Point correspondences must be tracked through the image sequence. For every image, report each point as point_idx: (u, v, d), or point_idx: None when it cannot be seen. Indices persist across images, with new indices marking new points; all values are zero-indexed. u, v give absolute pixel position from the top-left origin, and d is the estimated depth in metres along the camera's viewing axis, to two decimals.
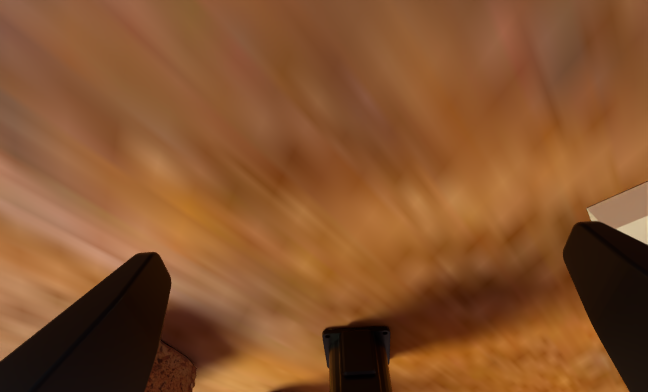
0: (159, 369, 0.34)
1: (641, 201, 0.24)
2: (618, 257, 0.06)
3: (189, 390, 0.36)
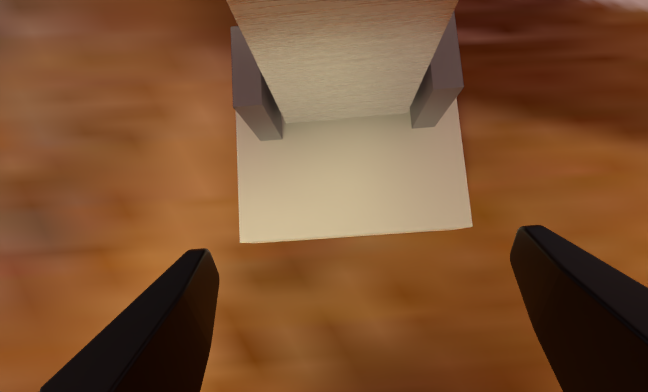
0: None
1: None
2: (551, 261, 0.06)
3: None
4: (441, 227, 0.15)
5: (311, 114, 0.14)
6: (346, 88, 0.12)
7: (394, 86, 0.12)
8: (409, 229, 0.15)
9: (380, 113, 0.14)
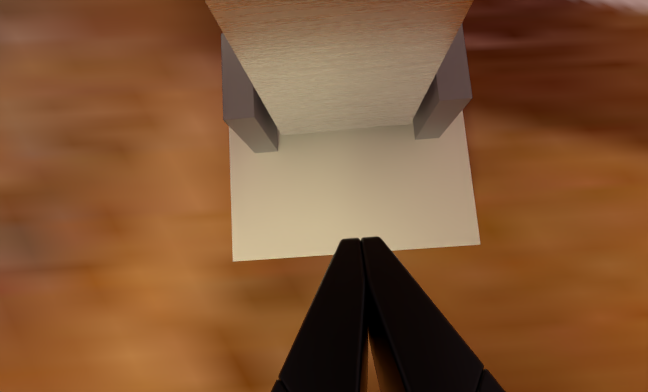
0: None
1: None
2: (366, 273, 0.07)
3: None
4: (447, 245, 0.14)
5: (308, 126, 0.13)
6: (345, 99, 0.11)
7: (396, 97, 0.11)
8: (413, 247, 0.14)
9: (381, 124, 0.14)
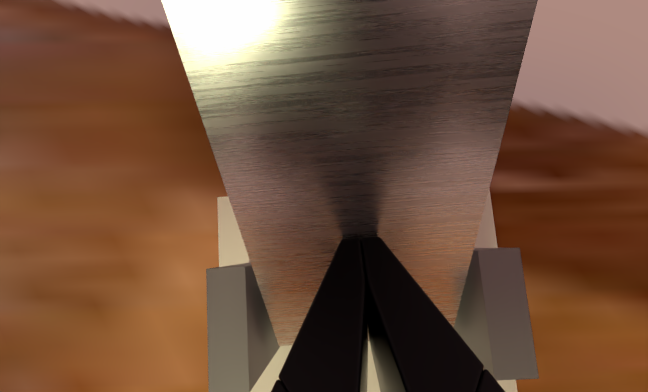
0: None
1: None
2: (366, 273, 0.07)
3: None
4: None
5: None
6: None
7: (429, 281, 0.09)
8: None
9: None
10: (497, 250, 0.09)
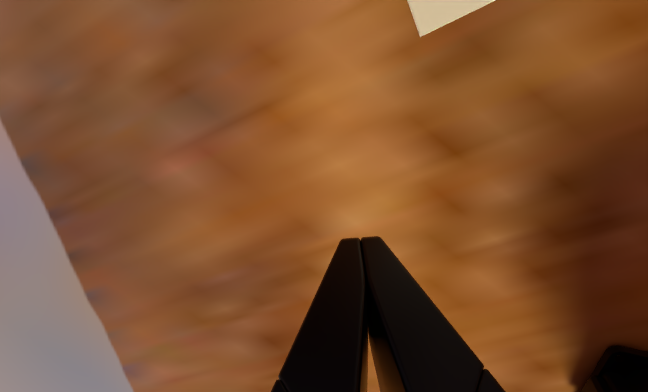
0: None
1: None
2: (366, 273, 0.07)
3: None
4: None
5: None
6: None
7: None
8: None
9: None
10: None
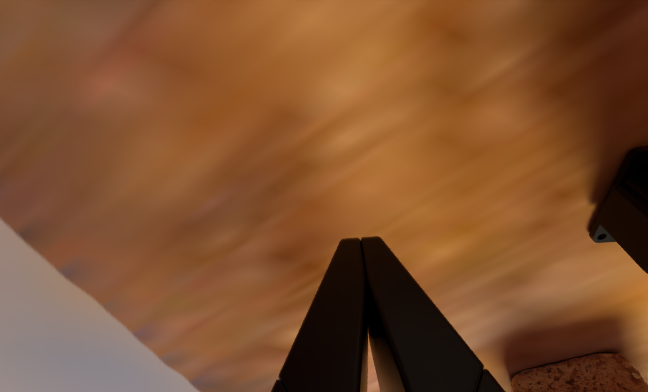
0: (579, 390, 0.29)
1: None
2: (366, 273, 0.07)
3: (637, 382, 0.28)
4: None
5: None
6: None
7: None
8: None
9: None
10: None
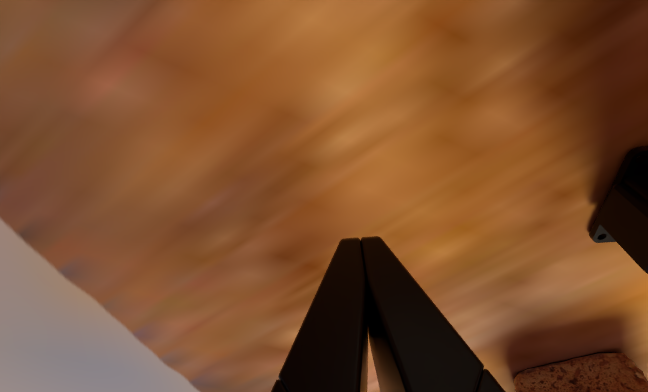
0: (582, 389, 0.29)
1: None
2: (366, 273, 0.07)
3: (641, 382, 0.28)
4: None
5: None
6: None
7: None
8: None
9: None
10: None
